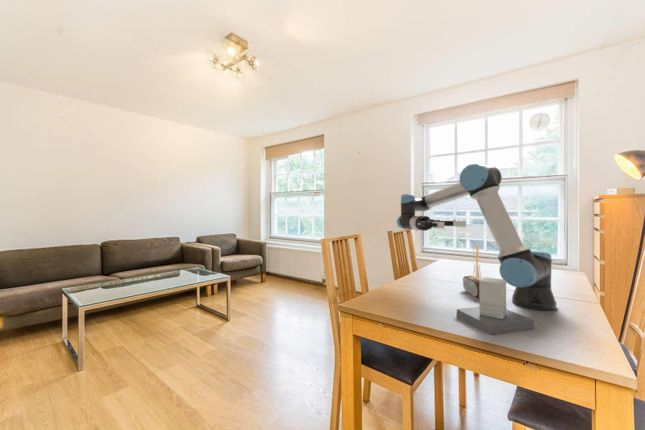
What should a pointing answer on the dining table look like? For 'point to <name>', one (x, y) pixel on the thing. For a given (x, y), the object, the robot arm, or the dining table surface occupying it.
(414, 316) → the dining table surface
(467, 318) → the gray board
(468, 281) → the tin
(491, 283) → the supplement box
